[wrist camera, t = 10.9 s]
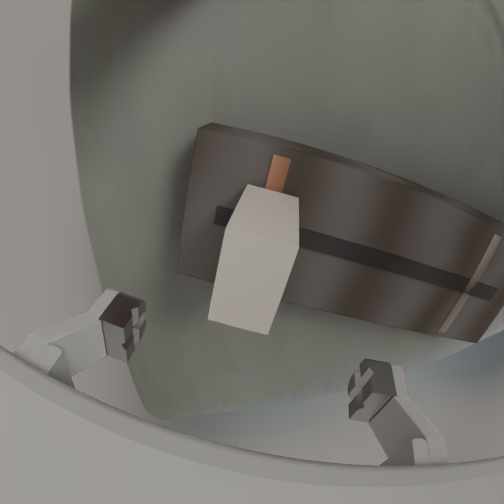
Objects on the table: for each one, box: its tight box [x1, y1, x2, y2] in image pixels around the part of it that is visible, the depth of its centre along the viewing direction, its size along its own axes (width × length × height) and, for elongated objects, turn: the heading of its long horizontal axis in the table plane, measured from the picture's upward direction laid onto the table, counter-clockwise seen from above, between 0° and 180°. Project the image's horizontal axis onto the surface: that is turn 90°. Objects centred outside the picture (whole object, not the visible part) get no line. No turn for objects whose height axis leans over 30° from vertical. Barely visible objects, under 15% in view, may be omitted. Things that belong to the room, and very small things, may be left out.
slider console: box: [177, 123, 504, 343], centre depth 20 cm, size 26×10×3 cm, turn 77°
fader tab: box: [208, 184, 299, 335], centre depth 16 cm, size 3×5×6 cm, turn 167°
